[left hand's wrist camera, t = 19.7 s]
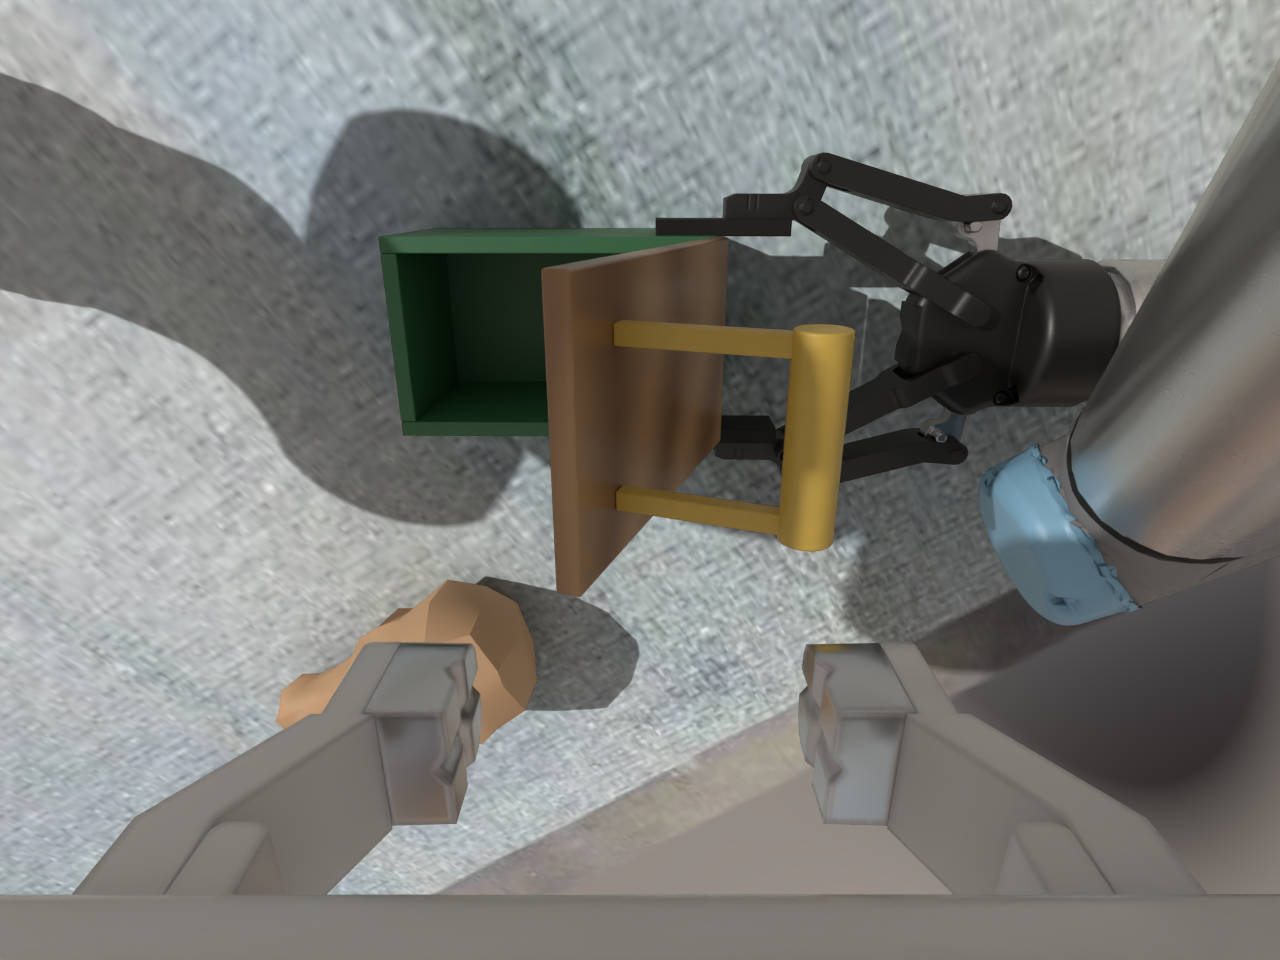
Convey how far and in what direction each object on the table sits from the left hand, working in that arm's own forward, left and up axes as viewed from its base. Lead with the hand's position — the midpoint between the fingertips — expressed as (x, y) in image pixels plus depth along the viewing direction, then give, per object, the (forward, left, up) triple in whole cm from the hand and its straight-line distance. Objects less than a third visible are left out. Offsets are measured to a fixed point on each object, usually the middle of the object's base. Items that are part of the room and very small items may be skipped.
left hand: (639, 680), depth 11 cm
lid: (0, 0, -19) cm, 19 cm away
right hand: (0, 0, -30) cm, 30 cm away
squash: (-21, -22, -37) cm, 47 cm away
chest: (-5, +1, -37) cm, 37 cm away
